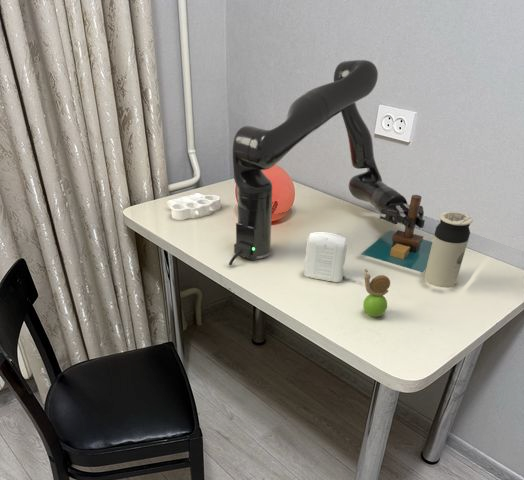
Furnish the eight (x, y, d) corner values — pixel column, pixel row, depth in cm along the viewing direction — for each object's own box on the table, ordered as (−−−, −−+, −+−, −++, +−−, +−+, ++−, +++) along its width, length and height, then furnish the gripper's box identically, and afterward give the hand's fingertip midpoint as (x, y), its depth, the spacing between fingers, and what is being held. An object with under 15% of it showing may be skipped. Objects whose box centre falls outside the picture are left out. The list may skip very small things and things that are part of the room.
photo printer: (343, 276, 131) (349, 232, 124) (341, 284, 128) (346, 239, 120) (306, 270, 133) (309, 227, 126) (302, 277, 130) (305, 233, 123)
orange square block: (403, 259, 137) (404, 252, 135) (389, 255, 139) (391, 248, 137) (408, 254, 139) (410, 247, 138) (395, 250, 141) (396, 243, 140)
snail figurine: (355, 308, 119) (362, 263, 111) (381, 307, 119) (390, 263, 112) (360, 321, 114) (368, 275, 107) (387, 320, 115) (397, 274, 108)
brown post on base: (416, 253, 140) (428, 202, 130) (390, 247, 143) (400, 196, 134) (421, 247, 143) (433, 196, 134) (395, 241, 146) (405, 191, 137)
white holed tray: (204, 198, 174) (228, 211, 165) (159, 210, 165) (183, 224, 156) (203, 188, 172) (228, 201, 163) (158, 200, 163) (182, 214, 154)
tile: (421, 276, 132) (422, 272, 131) (360, 257, 140) (360, 253, 139) (446, 249, 145) (447, 245, 144) (388, 233, 153) (389, 230, 152)
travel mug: (416, 281, 129) (432, 215, 119) (435, 273, 133) (452, 208, 122) (442, 294, 125) (460, 226, 114) (461, 285, 128) (480, 218, 117)
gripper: (369, 191, 145) (396, 214, 131) (411, 188, 148) (443, 209, 135) (365, 216, 149) (391, 240, 136) (407, 212, 152) (437, 235, 139)
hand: (417, 225), depth 135 cm, fingers closed on brown post on base, 2 cm apart
